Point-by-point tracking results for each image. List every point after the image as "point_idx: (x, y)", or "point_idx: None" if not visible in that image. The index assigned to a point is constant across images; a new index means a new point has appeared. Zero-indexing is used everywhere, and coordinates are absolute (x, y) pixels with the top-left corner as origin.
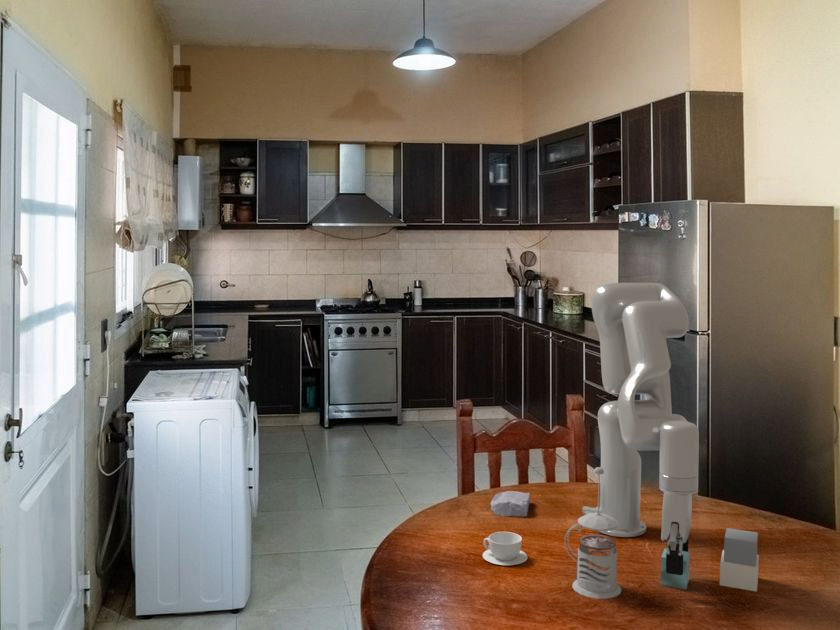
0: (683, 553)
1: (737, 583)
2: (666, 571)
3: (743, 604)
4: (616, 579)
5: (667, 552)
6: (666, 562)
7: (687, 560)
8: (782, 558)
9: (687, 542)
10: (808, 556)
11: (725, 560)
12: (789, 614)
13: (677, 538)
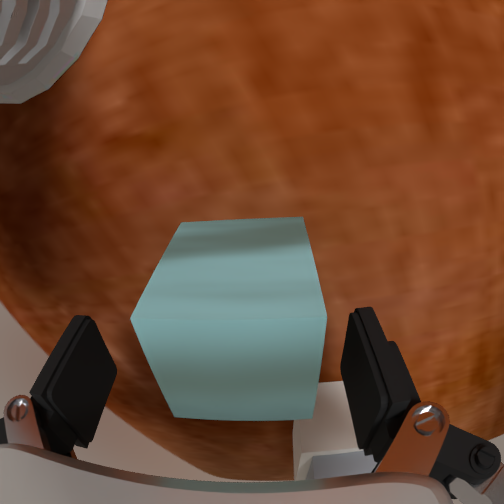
0: (276, 405)
1: (295, 422)
2: (74, 318)
3: (197, 419)
4: (1, 79)
5: (7, 407)
6: (53, 352)
7: (186, 417)
8: (476, 419)
9: (357, 442)
10: (479, 433)
11: (312, 462)
12: (206, 457)
13: (383, 424)
